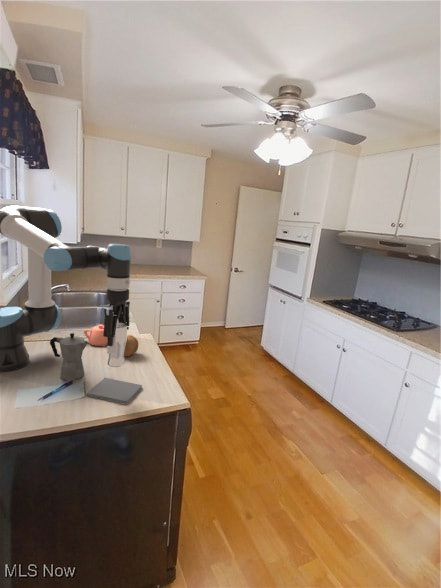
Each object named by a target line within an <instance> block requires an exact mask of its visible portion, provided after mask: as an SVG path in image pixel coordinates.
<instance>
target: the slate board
mask: <svg viewBox="0 0 441 588" xmlns="http://www.w3.org/2000/svg"><path fill="white" fill-rule="evenodd" d="M142 388H143V385H142V384H140V383H139V384H138V383H135V382H129V381H123V380H118V379H114V378H109V377H104V378H103V379H101V380H100V381H99V382H98V383H97V384H95V385H94V386H93V387H91V388H90V389H89V390H88V391H87V392H86V397H91V398H95V399H100V400H104V401H109V402H114V403H118V404H122V405H128V404H129V403H130V402H131V401H132V400H133V398H134V397H135V396H136V395H137V394H138V393H139V392H140V391H141V389H142Z"/></svg>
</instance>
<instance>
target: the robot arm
mask: <svg viewBox="0 0 441 588" xmlns="http://www.w3.org/2000/svg"><path fill="white" fill-rule="evenodd" d="M62 230H63V228H62V222H61V219H60V217H59V216H58V214H57V213H56V212H55V211H54V210H52V209H48V208H43V207H31V206H20V205H9V206H5V207H3V208H1V209H0V234H1V235H2V236H4V237H5V238H7V239H9V240H12V241H14V240H16V241H17V242H18V243H20V244H22V245H23V246H24V247H26V248H27V272H28V273H27V275H28V276H27V277H28V278H27V281H28V282H27V283H28V285H27V286H28V287H27V288H28V300H26V302H24V309H23V308H22V307H20V306H6V307H1V308H0V372H1V373H3V372H10V371H11V372H12V371H15V370H19V369H21V368H24V367H25V366H27V365H28V364H30V362H31V360H30V359H31V358H30V353H28V349H27V348H26V346H25V337H29V336H34V335H39V334H42V333H47V332H50V331H52V330H55V329H57V328H58V327H59V326H60V324H61V322H62V321H61V320H62V311H61V309H60V307H59V306H58V305H57V304H56V302H55V301H54V300H53V299H52V272H66V271H75V270H88V269H89V270H90V269H103V270H106V271H107V273H106V288H107V289H106V299H107V301H109V305H108V308H104V310H103V312H104V322H103V326H104V333H103V336H104V337H107V345H106V347H107V348H106V351H107V352H106V354H108V355H109V354H113V355H114V354H115V345H116V337H115V336H114V335H115V330H116V325H117V322H121V323H125V324H127V331H128V330H129V329H130V327H129V326H130V305H131V303H130V301H128V300H130V289H129V288H130V283H131V280H130V277H131V276H130V275H131V259H132V257H131V254H132V253H131V247H130V245H128V244H122V243H108V245H107V247H103V246H99V245H87V246H70V245H67V244H65V243H63V242H61V241H60V240H58V239H56V238H59V237H60V236H61V233H62Z"/></svg>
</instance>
